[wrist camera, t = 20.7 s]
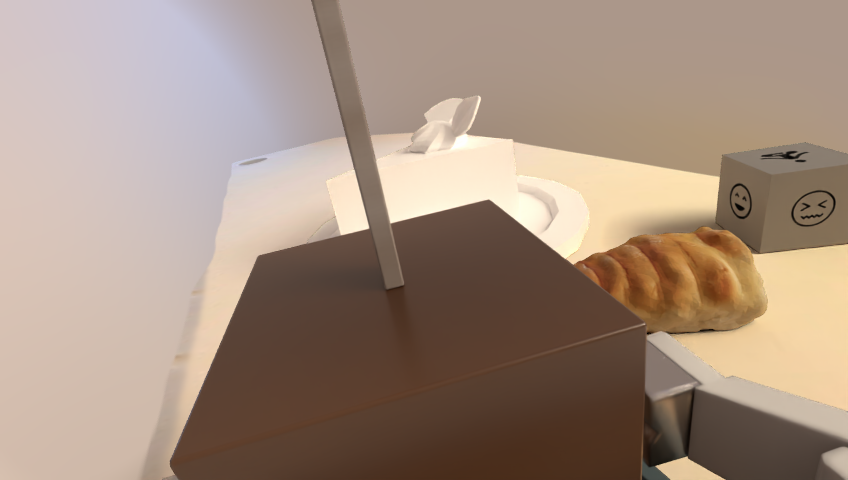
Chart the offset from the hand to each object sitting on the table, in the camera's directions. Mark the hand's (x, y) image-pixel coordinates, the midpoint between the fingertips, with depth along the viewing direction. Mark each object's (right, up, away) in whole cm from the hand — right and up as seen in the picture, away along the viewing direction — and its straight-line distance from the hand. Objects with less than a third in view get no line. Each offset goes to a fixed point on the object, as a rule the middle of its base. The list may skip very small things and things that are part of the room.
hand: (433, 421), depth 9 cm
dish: (+2, +5, +29) cm, 30 cm away
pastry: (+13, 0, +14) cm, 19 cm away
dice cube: (+23, +4, +19) cm, 30 cm away
